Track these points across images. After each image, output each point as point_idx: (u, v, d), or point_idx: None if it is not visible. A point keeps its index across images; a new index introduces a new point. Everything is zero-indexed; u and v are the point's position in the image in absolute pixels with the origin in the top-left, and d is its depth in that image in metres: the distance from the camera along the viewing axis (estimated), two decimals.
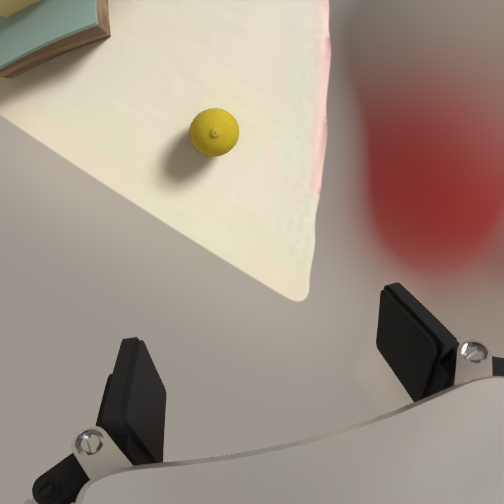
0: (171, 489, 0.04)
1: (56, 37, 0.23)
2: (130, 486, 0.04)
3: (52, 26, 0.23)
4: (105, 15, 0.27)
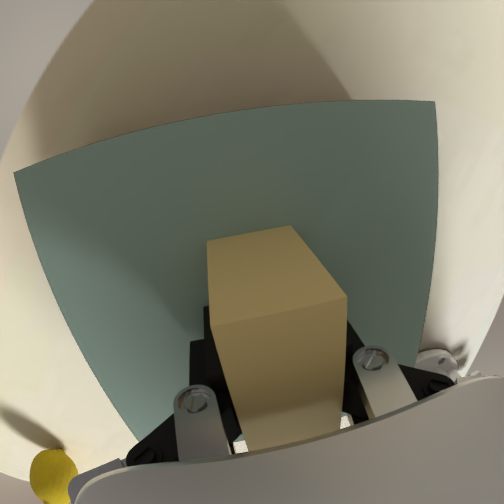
0: (171, 489, 0.04)
1: (112, 401, 0.14)
2: (131, 487, 0.04)
3: (139, 393, 0.13)
4: None
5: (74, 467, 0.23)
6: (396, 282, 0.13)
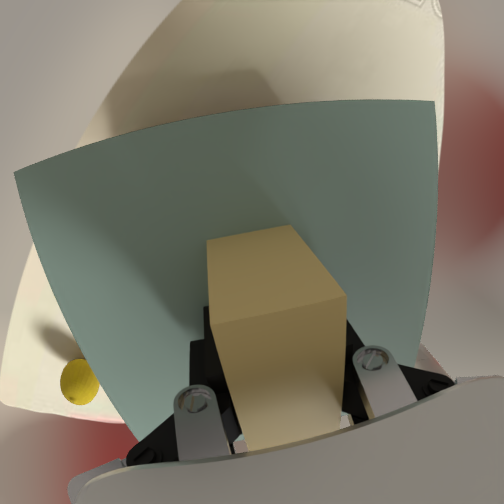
0: (171, 489, 0.04)
1: (112, 400, 0.14)
2: (131, 487, 0.04)
3: (139, 393, 0.13)
4: None
5: None
6: (395, 281, 0.13)
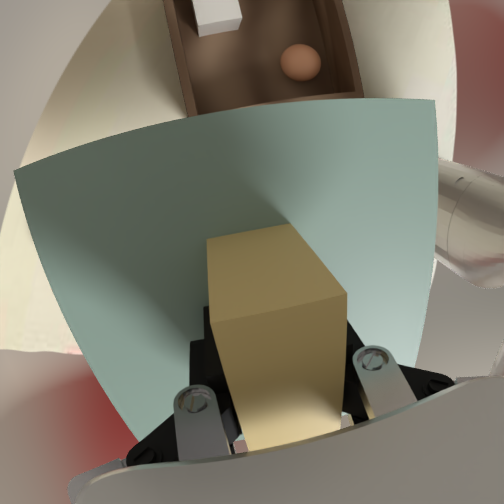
0: (171, 489, 0.04)
1: (112, 399, 0.13)
2: (131, 487, 0.04)
3: (139, 392, 0.13)
4: None
5: None
6: (396, 280, 0.13)
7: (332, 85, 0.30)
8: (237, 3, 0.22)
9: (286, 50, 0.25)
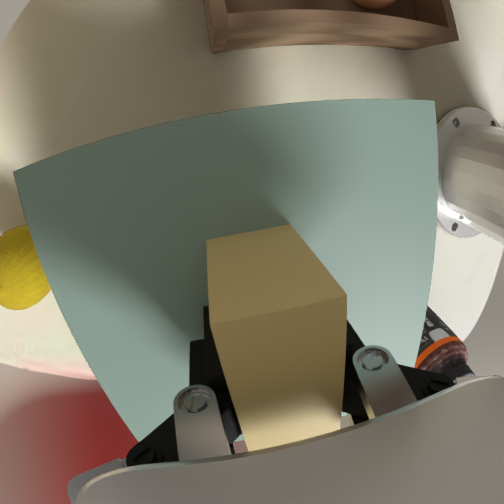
0: (171, 489, 0.04)
1: (112, 400, 0.13)
2: (130, 486, 0.04)
3: (139, 393, 0.13)
4: (255, 42, 0.17)
5: None
6: (396, 281, 0.13)
7: None
8: None
9: None
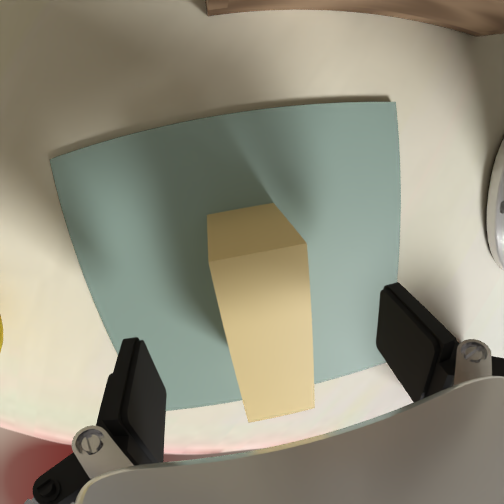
0: (171, 489, 0.04)
1: None
2: (130, 486, 0.04)
3: None
4: None
5: None
6: (365, 254, 0.16)
7: None
8: None
9: None
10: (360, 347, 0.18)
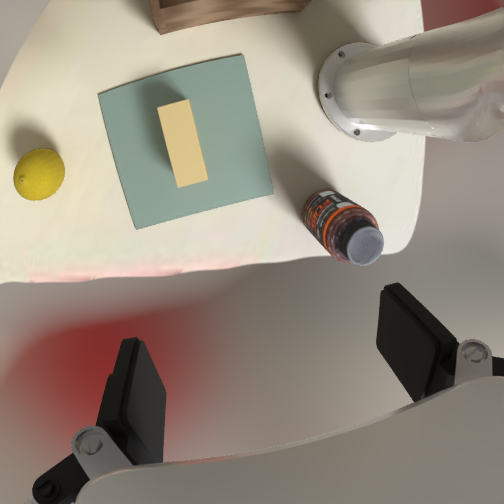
0: (171, 489, 0.04)
1: (124, 189, 0.33)
2: (131, 486, 0.04)
3: (137, 182, 0.33)
4: (184, 24, 0.26)
5: (63, 164, 0.29)
6: (239, 123, 0.32)
7: None
8: None
9: None
10: (250, 179, 0.35)
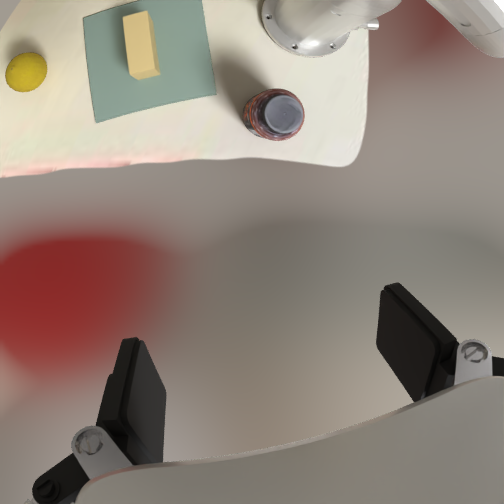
0: (171, 489, 0.04)
1: (91, 89, 0.34)
2: (131, 486, 0.04)
3: (102, 82, 0.34)
4: None
5: (46, 66, 0.29)
6: (190, 37, 0.33)
7: None
8: None
9: None
10: (196, 81, 0.36)
